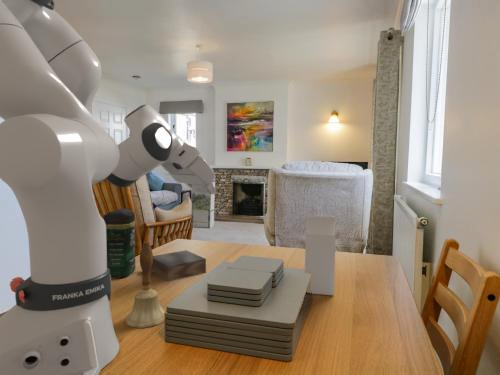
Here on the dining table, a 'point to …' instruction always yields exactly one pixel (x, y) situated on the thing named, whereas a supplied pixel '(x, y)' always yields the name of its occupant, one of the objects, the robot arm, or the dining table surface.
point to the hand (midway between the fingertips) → (205, 191)
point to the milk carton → (320, 253)
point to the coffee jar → (120, 242)
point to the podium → (178, 265)
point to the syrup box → (202, 207)
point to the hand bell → (146, 296)
